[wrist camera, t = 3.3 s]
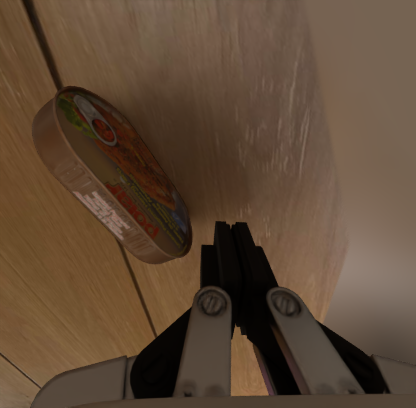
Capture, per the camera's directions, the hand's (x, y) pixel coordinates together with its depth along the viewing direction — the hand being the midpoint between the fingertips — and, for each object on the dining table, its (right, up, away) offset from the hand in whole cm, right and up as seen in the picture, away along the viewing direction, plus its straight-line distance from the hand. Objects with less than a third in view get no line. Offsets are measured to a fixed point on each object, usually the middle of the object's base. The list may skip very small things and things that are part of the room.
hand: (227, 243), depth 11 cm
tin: (-7, +6, +9) cm, 13 cm away
